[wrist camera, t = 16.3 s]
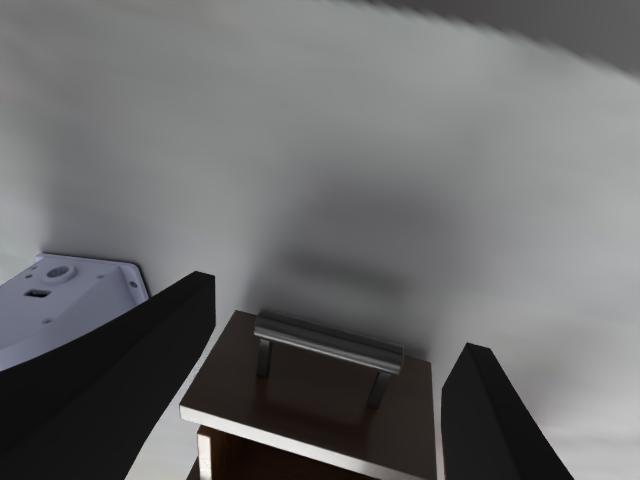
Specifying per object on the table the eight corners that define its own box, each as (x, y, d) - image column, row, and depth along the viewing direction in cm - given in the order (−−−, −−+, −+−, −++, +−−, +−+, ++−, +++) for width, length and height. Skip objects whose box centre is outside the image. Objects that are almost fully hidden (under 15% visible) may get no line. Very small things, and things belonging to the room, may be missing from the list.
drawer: (237, 254, 21) (171, 343, 15) (456, 309, 20) (473, 430, 14) (232, 426, 30) (191, 520, 25) (379, 471, 29) (370, 580, 24)
